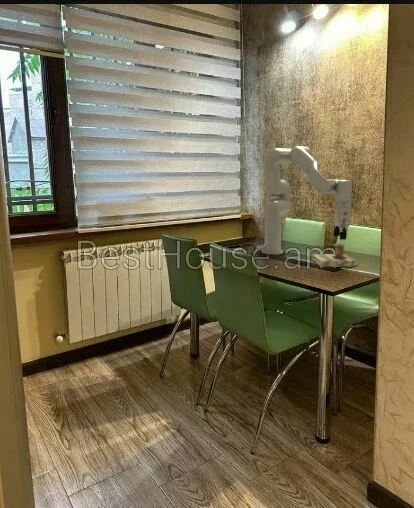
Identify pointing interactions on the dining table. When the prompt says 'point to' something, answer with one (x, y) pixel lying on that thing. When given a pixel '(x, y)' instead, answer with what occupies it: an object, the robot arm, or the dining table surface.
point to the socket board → (333, 260)
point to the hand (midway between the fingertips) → (339, 237)
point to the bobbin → (339, 251)
